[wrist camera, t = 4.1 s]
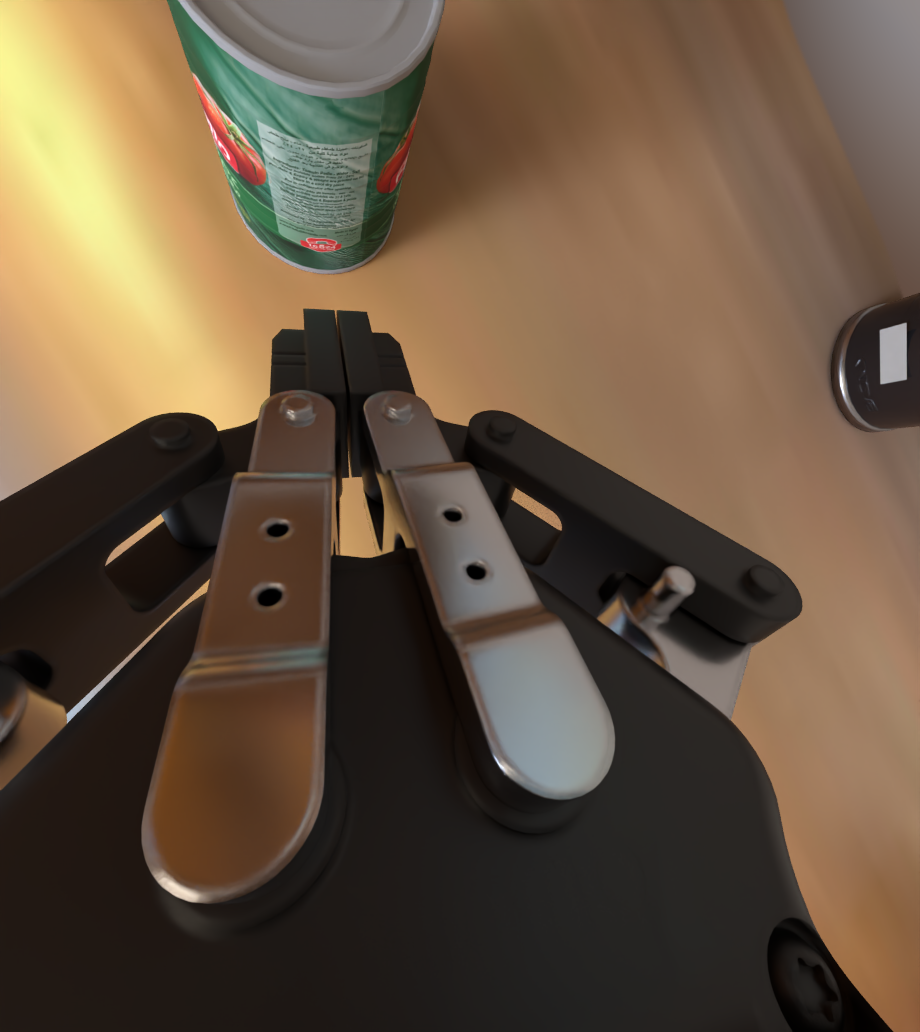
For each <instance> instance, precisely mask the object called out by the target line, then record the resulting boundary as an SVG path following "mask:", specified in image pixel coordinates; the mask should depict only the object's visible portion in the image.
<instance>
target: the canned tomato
mask: <svg viewBox="0 0 920 1032" xmlns="http://www.w3.org/2000/svg"><path fill="white" fill-rule="evenodd" d="M167 2H168V4H169V7H170V10H171V13H172V16H173V20H174V23H175V26H176V28H177V31H178V34H179V37H180V40H181V43H182V47H183V49H184V52H185V55H186V58H187V61H188V64H189V67H190V70H191V73H192V76H193V79H194V82H195V85H196V88H197V91H198V94H199V97H200V100H201V103H202V106H203V109H204V112H205V115H206V118H207V121H208V124H209V127H210V130H211V133H212V135H213V138H214V142H215V145H216V148H217V150H218V154H219V157H220V159H221V162H222V165H223V169H224V171H225V174H226V177H227V180H228V183H229V186H230V190H231V194H232V197H233V200H234V203H235V206H236V209H237V211H238V213H239V215H240V216H241V218H242V220H243V222H244V224H245V225H246V227H247V228H248V230H249V231H250V232H251V233H252V235H253V236H254V237H255V238H256V240H257V241H258V242H259V243H260V244H261V245H262V246H263V247H265V248H266V249H267V250H268V251H269V252H270V253H271V254H273V255H274V256H276V257H277V258H279V259H280V260H282V261H284V262H285V263H287V264H289V265H291V266H294V267H296V268H299V269H301V270H304V271H309V272H313V273H318V274H338V273H343V272H349V271H351V270H354V269H356V268H358V267H361V266H363V265H364V264H366V263H367V262H368V261H370V260H371V259H372V258H374V257H375V256H376V254H377V253H378V252H379V251H380V250H381V249H382V247H383V246H384V244H385V242H386V240H387V238H388V236H389V234H390V232H391V228H392V225H393V221H394V212H395V208H396V205H397V201H398V196H399V192H400V189H401V183H402V180H403V176H404V171H405V167H406V162H407V158H408V154H409V151H410V145H411V141H412V138H413V131H414V128H415V124H416V121H417V114H418V111H419V107H420V104H421V97H422V94H423V90H424V86H425V81H426V76H427V72H428V69H429V65H430V61H431V55H432V49H433V44H434V40H435V37H436V35H437V32H438V28H439V25H440V21H441V18H442V14H443V11H444V5H445V0H167Z"/></svg>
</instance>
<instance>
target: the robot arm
mask: <svg viewBox="0 0 920 1032" xmlns="http://www.w3.org/2000/svg"><path fill="white" fill-rule="evenodd" d="M303 311H304V330H294V329H282V330H281V331H280V332H279V333H278V334H277V335H276V336H275V337H274V338H273V339H272V359H271V363H272V365H271V384H270V397H269V398H268V399H266V400H265V401H264V402H263V404H262V405H261V408H260V412H259V417H258V419H256V420H255V421H253V422H251V423H248V424H246V425H243V426H239V427H235V428H231V429H226V430H222V431H217V428H216V426H215V425H214V424H213V423H212V422H211V421H210V420H209V419H207V418H205V417H203V416H200V415H196V414H192V413H167V414H161V415H157V416H154V417H151V418H148V419H146V420H144V421H142V422H140V423H138V424H136V425H135V426H133V427H131V428H129V429H128V430H126V431H124V432H122V433H120V434H119V435H117V436H115V437H113V438H112V439H110V440H108V441H106V442H105V443H103V444H101V445H99V446H97V447H96V448H94V449H92V450H90V451H89V452H87V453H85V454H83V455H82V456H80V457H78V458H76V459H74V460H73V461H71V462H69V463H67V464H66V465H64V466H62V467H60V468H59V469H57V470H55V471H53V472H51V473H50V474H48V475H46V476H44V477H43V478H41V479H39V480H37V481H36V482H34V483H32V484H30V485H28V486H27V487H25V488H23V489H21V490H20V491H18V492H16V493H14V494H12V495H11V496H9V497H7V498H5V499H4V500H2V501H0V1032H893V1031H892V1030H891V1029H890V1028H889V1026H888V1025H887V1024H886V1023H885V1022H884V1021H883V1020H882V1018H881V1017H880V1016H879V1015H878V1014H877V1013H876V1011H875V1010H874V1009H873V1008H872V1007H871V1006H870V1004H869V1003H868V1002H867V1001H866V1000H865V999H864V997H863V996H862V995H861V994H860V993H859V991H858V990H857V989H856V988H855V986H854V985H853V984H852V983H851V981H850V980H849V979H848V977H847V976H846V975H845V974H844V972H843V971H842V969H841V968H840V967H839V965H838V964H837V962H836V961H835V960H834V958H833V957H832V955H831V954H830V952H829V950H828V949H827V947H826V946H825V944H824V942H823V941H822V939H821V937H820V935H819V934H818V932H817V930H816V928H815V926H814V924H813V921H812V919H811V917H810V914H809V912H808V909H807V907H806V904H805V902H804V899H803V897H802V894H801V891H800V889H799V886H798V883H797V880H796V877H795V873H794V870H793V867H792V864H791V861H790V857H789V853H788V849H787V846H786V842H785V837H784V832H783V827H782V822H781V817H780V812H779V807H778V802H777V798H776V795H775V792H774V789H773V786H772V783H771V781H770V778H769V776H768V774H767V772H766V770H765V767H764V765H763V764H762V762H761V760H760V758H759V757H758V755H757V753H756V751H755V750H754V749H753V747H752V746H751V744H750V743H749V741H748V740H747V739H746V737H745V736H744V735H743V734H742V733H741V731H740V730H739V729H738V728H737V727H736V725H735V724H734V723H733V722H732V721H731V717H732V714H733V710H734V707H735V703H736V700H737V696H738V693H739V689H740V686H741V682H742V679H743V675H744V671H745V668H746V664H747V661H748V657H749V654H750V650H751V648H752V647H753V646H754V645H756V644H757V643H759V642H760V641H762V640H763V639H765V638H766V637H768V636H769V635H771V634H772V633H774V632H775V631H777V630H778V629H780V628H781V627H783V626H784V625H786V624H787V623H789V622H790V621H792V620H793V619H795V618H796V617H797V616H799V615H800V613H801V611H802V599H801V596H800V593H799V591H798V589H797V588H796V586H795V584H794V583H793V582H792V580H791V579H790V578H789V577H788V576H787V575H786V574H785V573H784V572H783V571H782V570H781V569H779V568H778V567H777V566H776V565H774V564H773V563H771V562H769V561H768V560H766V559H764V558H763V557H761V556H759V555H757V554H756V553H754V552H752V551H750V550H749V549H747V548H745V547H743V546H742V545H740V544H738V543H736V542H735V541H733V540H731V539H730V538H728V537H726V536H724V535H723V534H721V533H719V532H717V531H716V530H714V529H712V528H710V527H709V526H707V525H705V524H703V523H702V522H700V521H698V520H696V519H695V518H693V517H691V516H689V515H688V514H686V513H684V512H682V511H681V510H679V509H677V508H675V507H674V506H672V505H670V504H669V503H667V502H665V501H663V500H662V499H660V498H658V497H656V496H655V495H653V494H651V493H649V492H648V491H646V490H644V489H642V488H641V487H639V486H637V485H635V484H634V483H632V482H630V481H628V480H627V479H625V478H623V477H621V476H620V475H618V474H616V473H615V472H613V471H611V470H609V469H608V468H606V467H604V466H602V465H601V464H599V463H597V462H595V461H594V460H592V459H590V458H588V457H587V456H585V455H583V454H581V453H580V452H578V451H576V450H574V449H573V448H571V447H569V446H567V445H566V444H564V443H562V442H560V441H559V440H557V439H555V438H554V437H552V436H550V435H548V434H547V433H545V432H543V431H541V430H540V429H538V428H536V427H534V426H533V425H531V424H529V423H527V422H526V421H524V420H522V419H520V418H519V417H517V416H515V415H512V414H510V413H507V412H503V411H495V410H489V411H483V412H480V413H477V414H475V415H474V416H473V417H472V418H471V419H470V422H469V426H468V427H467V426H462V425H457V424H452V423H448V422H444V421H441V420H439V419H436V418H434V416H433V414H432V412H431V409H430V407H429V406H428V404H427V403H426V402H425V401H424V400H422V399H421V398H419V397H418V396H416V394H415V390H414V387H413V384H412V381H411V378H410V374H409V371H408V368H407V365H406V362H405V359H404V355H403V352H402V349H401V346H400V344H399V343H398V342H397V341H396V340H395V339H394V338H393V337H392V336H391V335H390V334H389V333H372V331H371V327H370V323H369V319H368V315H367V312H360V311H341V310H337V325H336V318H335V311H334V310H321V309H303ZM831 379H832V387H833V392H834V395H835V399H836V401H837V404H838V406H839V408H840V410H841V412H842V413H843V415H844V416H845V418H846V419H847V420H848V421H849V422H850V423H851V424H852V425H854V426H855V427H857V428H858V429H860V430H863V431H867V432H879V431H889V430H893V429H896V428H906V427H916V426H920V293H918V294H915V295H912V296H909V297H906V298H903V299H900V300H897V301H893V302H890V303H887V304H880V305H877V306H874V307H871V308H868V309H865V310H862V311H860V312H858V313H857V314H855V315H854V316H853V317H852V318H850V320H849V321H848V322H847V323H846V324H845V326H844V327H843V329H842V330H841V332H840V334H839V336H838V339H837V341H836V344H835V347H834V351H833V356H832V364H831ZM348 452H349V460H350V467H351V475H352V477H362V480H363V503H364V507H365V511H366V515H367V519H368V523H369V527H370V531H371V535H372V539H373V543H374V547H375V550H376V554H377V556H376V557H372V558H360V557H351V556H342V555H340V497H341V495H342V478H349V464H348ZM515 488H517V489H518V490H520V491H522V492H523V493H525V494H526V495H528V496H529V497H531V498H533V499H534V500H536V501H537V502H539V503H540V504H542V505H544V506H545V507H547V508H548V509H550V510H551V511H553V512H554V513H555V514H556V515H557V516H558V517H559V519H560V521H561V524H562V531H560V530H558V529H556V528H554V527H553V526H551V525H550V524H548V523H547V522H545V521H544V520H542V519H540V518H539V517H537V516H536V515H534V514H533V513H531V512H530V511H528V510H527V509H525V508H523V507H522V506H520V505H519V504H517V503H516V502H514V501H513V500H511V498H512V496H513V493H514V490H515ZM160 514H161V515H162V517H163V519H164V522H162V523H161V524H160V525H158V526H157V527H156V528H155V529H153V530H152V531H151V532H149V533H148V534H147V535H145V536H144V537H143V538H142V539H140V540H139V541H138V542H136V543H135V544H134V545H132V546H131V547H130V548H128V549H127V550H126V551H125V552H123V553H122V554H121V555H119V556H118V557H117V558H115V559H114V560H113V561H112V562H110V563H109V564H108V565H106V566H105V564H106V561H107V559H108V557H109V555H110V554H111V553H112V551H113V550H114V549H115V548H116V547H117V546H118V545H120V544H121V543H122V542H124V541H125V540H126V539H128V538H129V537H130V536H132V535H133V534H134V533H136V532H137V531H138V530H140V529H141V528H142V527H144V526H145V525H146V524H148V523H149V522H150V521H152V520H153V519H154V518H156V517H157V516H158V515H160ZM209 579H210V581H209V586H208V590H207V592H206V593H205V594H203V595H201V596H200V597H198V598H197V599H195V600H194V601H192V602H191V603H189V604H188V605H187V606H186V607H184V608H183V609H182V610H181V611H180V612H178V613H177V614H176V615H175V616H174V617H173V618H172V619H171V620H169V621H168V622H167V623H166V624H165V625H164V626H163V627H162V628H161V629H160V630H159V631H158V632H157V633H156V634H155V635H154V637H153V638H152V639H151V640H150V641H149V642H148V643H147V644H146V645H145V646H144V647H143V648H142V649H141V650H140V651H139V652H138V653H137V654H136V655H135V656H134V657H133V658H132V659H131V660H130V661H129V662H128V663H127V664H126V665H125V666H124V667H123V668H122V669H121V670H120V671H119V672H118V673H117V674H116V675H115V676H114V677H113V678H112V679H111V680H110V681H109V682H108V683H107V684H106V685H105V686H104V687H103V688H102V689H101V690H100V691H99V692H98V693H97V694H96V695H95V696H94V697H93V698H92V699H91V700H90V701H89V702H88V703H87V704H86V705H85V706H84V707H83V708H82V709H81V710H80V711H79V712H78V713H77V714H76V715H75V716H74V717H73V718H72V719H71V720H70V721H69V722H68V723H67V716H66V714H67V713H68V712H69V711H70V710H71V709H72V708H73V707H74V706H75V705H77V704H78V703H79V702H80V701H81V700H82V699H83V698H84V697H85V696H86V695H87V694H88V693H89V692H90V691H91V690H92V689H93V688H95V687H96V686H97V685H98V684H99V683H100V682H101V681H102V680H103V679H104V678H105V677H106V676H107V675H108V674H109V673H110V672H111V671H112V670H114V669H115V668H116V667H117V666H118V665H119V664H120V663H121V662H122V661H123V660H124V659H125V658H126V657H127V656H128V655H129V654H130V653H132V652H133V651H134V650H135V649H136V648H137V647H138V646H139V645H140V644H141V643H142V642H143V641H144V640H145V639H146V638H147V637H148V636H149V635H151V634H152V633H153V632H154V631H155V630H156V629H157V628H158V627H159V626H160V625H161V624H162V623H163V622H164V621H165V620H166V619H167V618H169V617H170V616H171V615H172V614H173V613H174V612H175V611H176V610H177V609H178V608H179V607H180V606H181V605H182V604H183V603H184V602H185V601H186V600H188V599H189V598H190V597H191V596H192V595H193V594H194V593H195V592H196V591H197V590H198V589H199V588H200V587H201V586H202V585H203V584H204V583H206V582H207V581H208V580H209Z"/></svg>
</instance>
